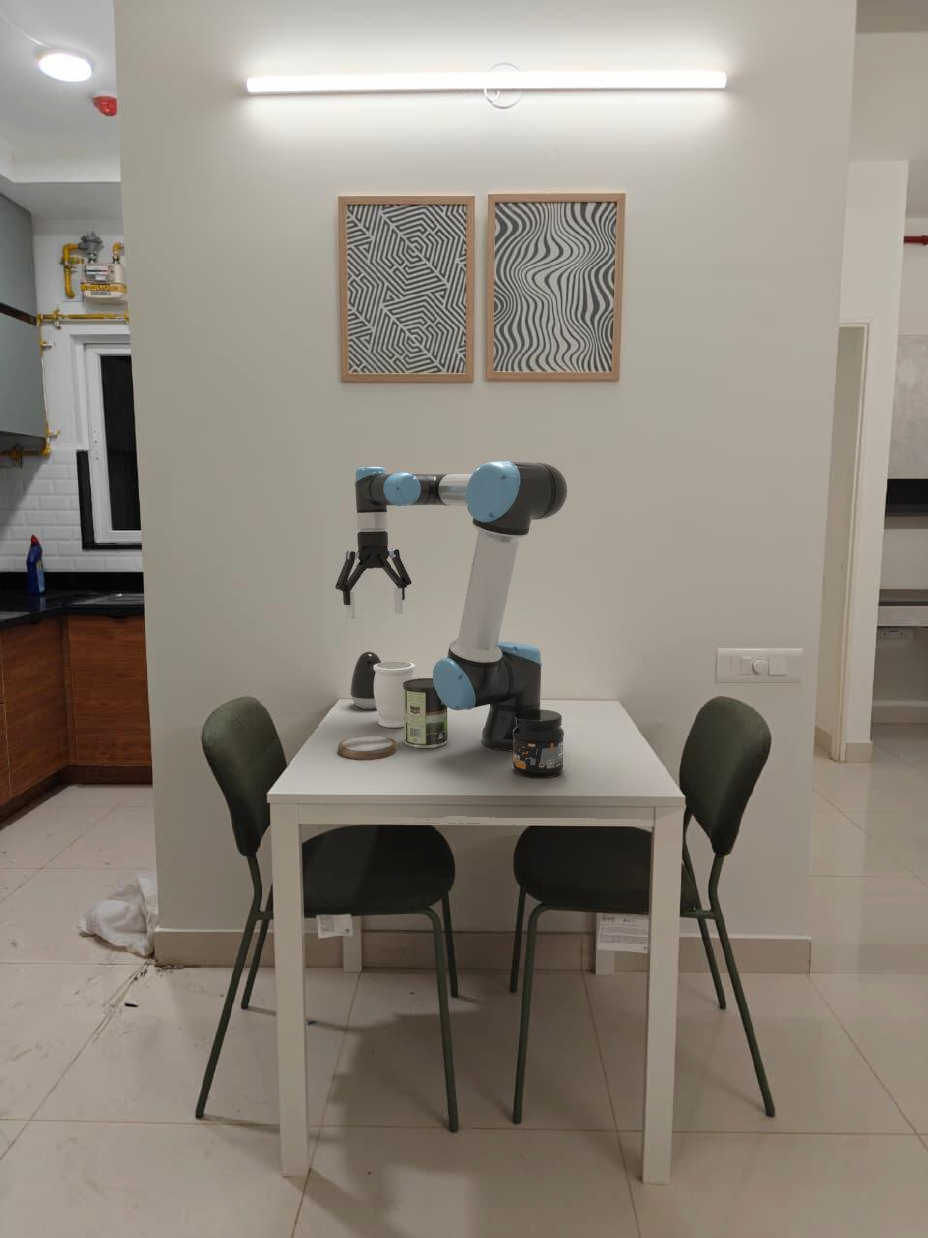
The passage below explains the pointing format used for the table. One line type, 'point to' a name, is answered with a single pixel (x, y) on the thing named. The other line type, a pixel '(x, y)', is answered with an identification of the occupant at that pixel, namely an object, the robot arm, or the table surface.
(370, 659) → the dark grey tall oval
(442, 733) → the coffee can
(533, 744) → the supplement container
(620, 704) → the table surface
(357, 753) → the thin brown ring
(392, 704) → the jar
